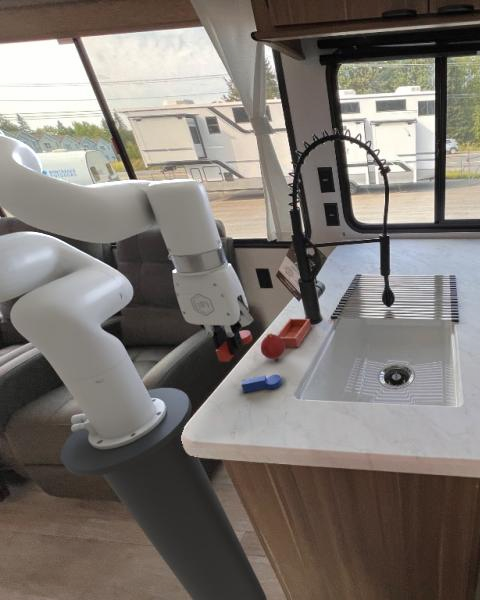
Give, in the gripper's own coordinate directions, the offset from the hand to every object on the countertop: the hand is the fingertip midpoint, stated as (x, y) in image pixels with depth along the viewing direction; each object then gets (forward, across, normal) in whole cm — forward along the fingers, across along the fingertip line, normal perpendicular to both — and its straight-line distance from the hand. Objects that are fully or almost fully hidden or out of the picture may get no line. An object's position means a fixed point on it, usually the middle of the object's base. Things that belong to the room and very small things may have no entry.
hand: (231, 349), depth 60 cm
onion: (+15, -3, +17) cm, 23 cm away
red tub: (+15, -2, +28) cm, 31 cm away
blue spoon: (+15, -1, +7) cm, 17 cm away
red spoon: (+1, 0, +2) cm, 2 cm away
